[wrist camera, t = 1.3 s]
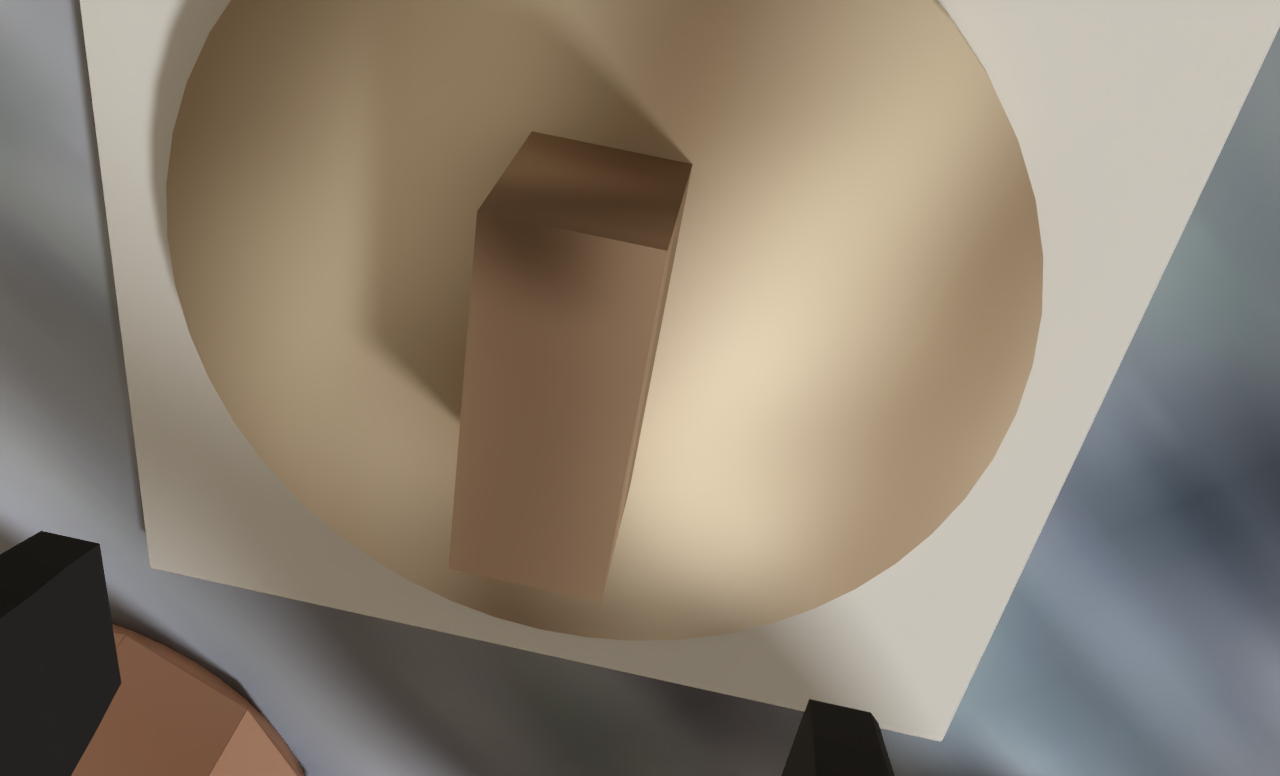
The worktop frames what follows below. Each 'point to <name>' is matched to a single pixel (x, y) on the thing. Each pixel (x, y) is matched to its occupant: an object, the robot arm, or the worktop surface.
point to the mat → (885, 605)
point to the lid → (610, 290)
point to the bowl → (179, 722)
